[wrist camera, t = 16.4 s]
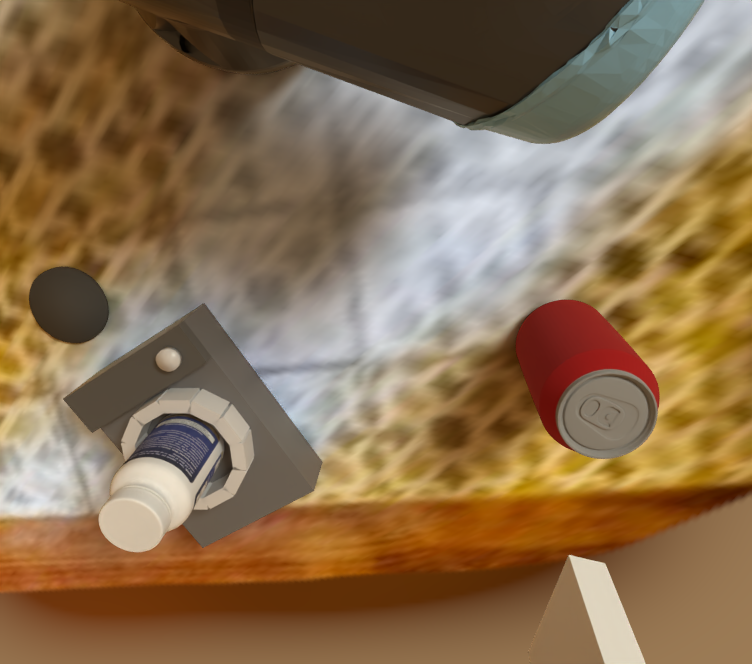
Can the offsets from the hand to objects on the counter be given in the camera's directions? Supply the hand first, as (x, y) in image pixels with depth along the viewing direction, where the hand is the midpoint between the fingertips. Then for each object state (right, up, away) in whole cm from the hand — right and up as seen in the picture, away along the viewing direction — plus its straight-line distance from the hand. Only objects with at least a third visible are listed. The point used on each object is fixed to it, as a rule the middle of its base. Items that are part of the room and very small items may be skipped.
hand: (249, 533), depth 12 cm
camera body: (-11, -3, +36) cm, 37 cm away
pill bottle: (-11, -4, +32) cm, 34 cm away
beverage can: (+16, +4, +31) cm, 35 cm away
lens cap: (-21, +6, +34) cm, 40 cm away
